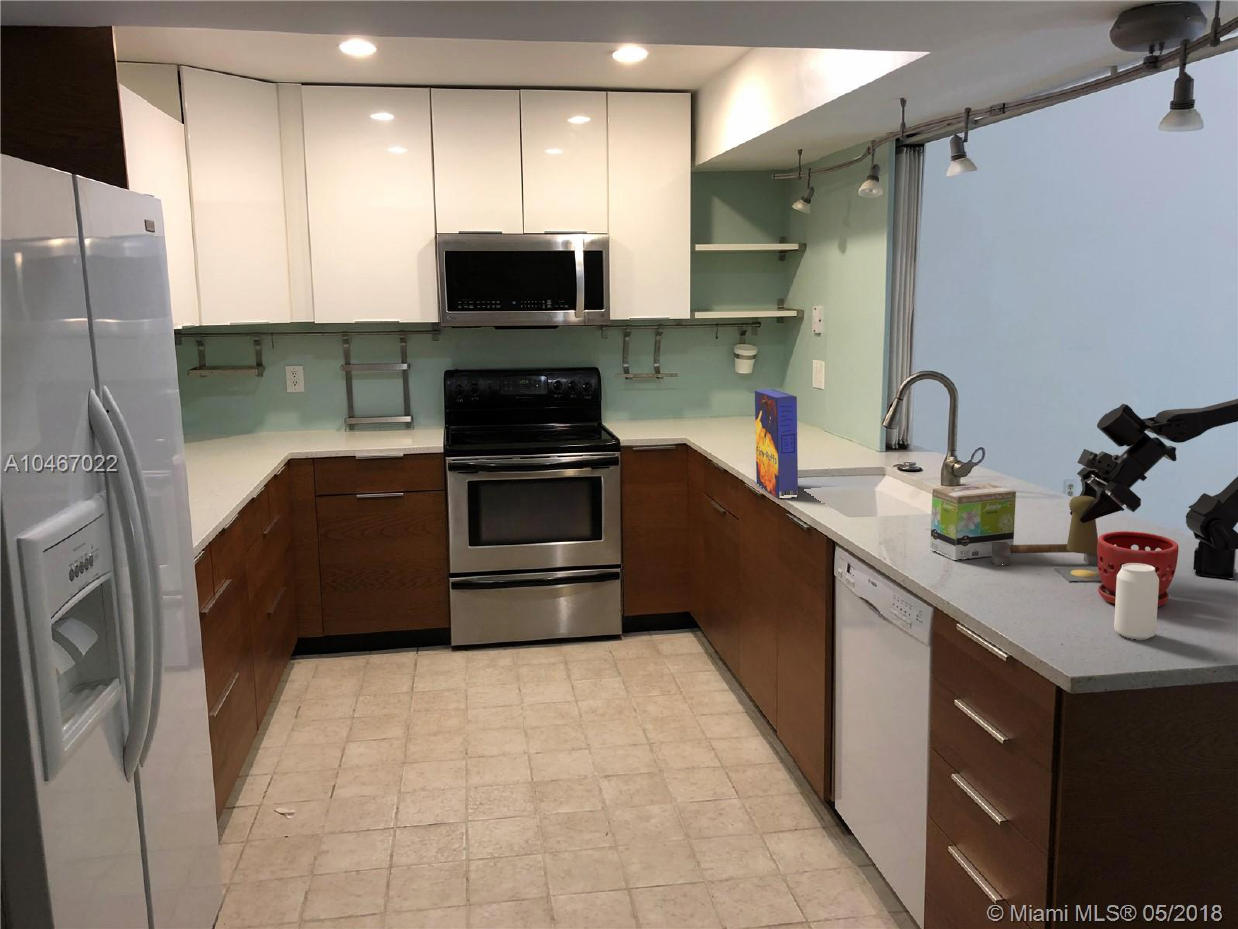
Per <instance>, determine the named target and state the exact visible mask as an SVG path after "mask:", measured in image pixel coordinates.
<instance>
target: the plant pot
mask: <svg viewBox="0 0 1238 929" xmlns="http://www.w3.org/2000/svg"><path fill="white" fill-rule="evenodd" d="M1133 546H1136V547H1137V548H1138V549H1132V547H1133ZM1146 548H1149V549H1150V550H1146ZM1157 549H1160V550H1157ZM1097 555H1098V564H1097V567H1098V571H1099V575H1100V578H1101V580H1102V582H1101V584H1099V586H1098V587H1097V592H1098V594H1099V595H1100V597H1102V598H1103V599H1104V600H1105V601H1107V602H1109V603H1111V604H1114V605H1115V601H1116V581H1117V574H1118V573H1119V571H1120V570H1121V568H1122V565H1123V564H1127V563H1141V564H1147V565H1150V566H1153V567H1154V568H1155V572H1156V574H1157V576H1158V578H1159V590H1158V607H1161V606H1163V605H1164V604H1166V603H1167V602H1168V601H1169V597H1170V595H1169V593H1168V592H1167V589H1169V587H1170V585H1171V584H1172V581H1173V579H1174V577H1175V573H1176V569H1177V566H1178V557H1179V544H1178V543H1177V541H1175V540H1173V539H1172V538H1171V539H1170V538H1169V537H1165V536H1162V535H1158V534H1154V533H1147V532H1143V531H1142V532H1139V531H1129V530H1123V531H1121V530H1120V531H1109V532H1107V533H1106V532H1105V533H1103V534H1101V535H1099V537H1098V545H1097ZM1102 559H1103V561H1102ZM1158 607H1157V608H1158Z"/></svg>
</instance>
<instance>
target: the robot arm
mask: <svg viewBox="0 0 1238 929" xmlns="http://www.w3.org/2000/svg"><path fill="white" fill-rule="evenodd" d="M1237 422H1238V398H1236V399H1231V400H1228V401H1224V402H1219V403H1217V404H1212V405H1208V406H1204V407H1199V408H1198V407H1197V408H1178V409H1177V408H1176V409H1175V408H1174V409H1165V410H1162V411H1160V412H1157V414H1156V415H1155V416H1151V417H1146V418H1142V417H1141V416H1139V415H1138V413H1136V412H1134V410H1133V408H1132V407H1131V406H1129V405H1128V404H1126V403H1122V404H1120V405H1119V407H1116V408H1113V409H1111V410H1110V411H1108V412H1107V413H1104V415H1103V416H1101V417H1100V419H1099V421H1097V424H1096V428H1097V429H1098V430H1100V431H1101V433H1103V434H1104V435H1105V436H1106V437H1107V438H1108V439H1109V440H1111V441H1112V442H1113V443H1114V445H1116V446H1117V447H1119V448H1121V447H1122V448H1123V447H1124V446H1125V447H1126V449H1125V450H1124V452H1122V453H1121V454H1120V455H1119V454H1110V453H1109V452H1105V451H1100V452H1099V453H1097V452H1094V451H1092V450H1089V449H1086V448H1084V449H1083V451H1082V452H1081V454H1080V456H1079V458H1078V460H1077V464H1080V465H1081V466H1082V468H1081V469H1080V470H1079V471H1078V472H1077V473H1076V475H1077V476H1078V477H1079V478H1080V482H1081V492H1080V493H1079V496H1089V497H1093V498H1095V500H1094V501H1093V502H1092V504H1091V505H1090V506H1089V507H1088V508H1087V510H1086V511H1085V512H1084V513H1083V515H1082V516H1081V517H1080V519H1079V520H1080V521H1081V522H1082V523H1086V522H1089V521H1091V520H1094V519H1096V520H1097V519H1099V518H1101V517H1105V516H1106V517H1107V516H1108V515H1112V514H1115V513H1118V512H1123V511H1125V510H1126V509H1127V511H1130V512H1132V513H1135V512H1136V511H1137V510H1138V509H1139V508H1140V507H1141V506H1142V505H1141V504H1142V499H1141V497H1139V495H1137V494H1136V493H1135V492H1134V491H1133V490H1132V489H1131V488H1133V486H1134V485H1136V484H1137V483H1138V481H1141V482H1144V481H1146V480H1147V479H1148V477H1147V476H1146V474H1147V473H1148V472H1149V471H1151V470H1152V468H1154V467H1155V466H1156V465H1157V464H1158V463H1159V462H1160V461H1161V460H1163V458H1164V459H1166V460H1169V461H1172V462H1176V461H1177V453H1176V452H1177V447H1176V446H1173V445H1167V444H1166V443H1164V441H1163V440H1161V439H1164V440H1166V441H1169V442H1172V443H1176V444H1179V443H1181V444H1182V443H1185V442H1188V441H1190V440H1192V439H1194V438H1197V437H1199V436H1202V435H1204V433H1206V432H1207V431H1209V430H1211V429H1214V428H1218V427H1221V426H1225V425H1229V424H1233V423H1237ZM1147 432H1148V433H1152V434H1153V435H1156V436H1155V437H1151V436H1150V435H1149V434H1148V433H1147ZM1160 438H1161V439H1160ZM1127 447H1128V448H1127ZM1198 497H1199V498H1198V499H1197V500H1196V501H1195V502H1194V503H1193V504H1191V505H1189V506H1188V507H1187V508H1188V509H1189V510H1188V512H1187V513H1186V514H1185V524H1186V527H1187V528H1188V529H1189V531H1191V532H1192V533H1193V536H1194V539H1196V540H1199V541H1198V544H1197V545H1198V546H1196V547H1195V549H1194V552H1193V566H1192V569H1193V571H1194V575H1195V576H1200V575H1201V577H1208V576H1209V577H1210V578H1217V577H1221V578H1220V579H1225V578H1234V579H1235V575H1236V572H1237V571H1236V570H1237V569H1236V556H1237V550H1238V532H1237V531H1236V530H1235V526H1236V525H1238V475H1236V477H1235V478H1234V479H1233V480H1232V481H1231V482H1230V483H1229V484H1228V485H1227V486H1226V487H1225V488H1224V489H1223V490H1222V491H1220V492H1218V493H1216V494H1215V495H1209V494H1208V493H1206V492H1204V493H1202V494H1201V495H1200V496H1198ZM1124 506H1125V508H1126V509H1125V508H1124ZM1069 514H1070V515H1071V516H1072V511H1071V510H1070V511H1069ZM1209 577H1208V578H1209Z"/></svg>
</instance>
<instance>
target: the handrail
mask: <svg viewBox="0 0 1238 929" xmlns="http://www.w3.org/2000/svg"><path fill="white" fill-rule="evenodd" d="M1066 548H1067V543H1056V544H1055V543H1052V544H1051V543H1047V544H1046V543H1045V544H1043V543H1042V544H1040V543H1039V544H1013V545H1009V544H1008V543H1007V542H992V556H991V562H992V561H993V562H994V564H995V565H1002V564H1003V565H1005V566H1011V554H1010V553H1012V554H1045V553H1046V554H1052V553H1053V554H1054V553H1057V554H1058V553H1059V554H1060V553H1063V554H1064V553H1065V554H1066V553H1068V554H1069V553H1071V552H1070V551H1068V550H1067V549H1066ZM1083 561H1084V562H1085V563H1086V564H1087V565H1090V566H1091V565H1098V555H1097V553H1091V554H1083ZM1102 561H1103V559H1102ZM994 564H993V565H994ZM995 565H994V566H995Z"/></svg>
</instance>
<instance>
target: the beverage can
mask: <svg viewBox="0 0 1238 929" xmlns="http://www.w3.org/2000/svg"><path fill="white" fill-rule="evenodd" d="M1158 590H1159V578H1158V576H1157V574H1156V572H1155V568H1154V567H1153V566H1150V565H1147V564H1141V563H1127V564H1123V565H1122V568H1121V570H1120V571H1119V573H1118V574H1117V581H1116V601H1115V604H1114V607H1115V608H1114V626H1113V628H1114V631H1115V632H1116V633H1118V634H1119V635H1120V634H1121V635H1122V636H1121V635H1120V636H1121V637H1123V636H1124V637H1123V638H1125V637H1127V638H1126V639H1128V638H1131V639H1130V640H1133V639H1136V640H1135V641H1144V640H1148V639H1149V638H1152V637H1154V636H1156V632H1157V622H1158V621H1157V620H1158Z"/></svg>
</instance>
